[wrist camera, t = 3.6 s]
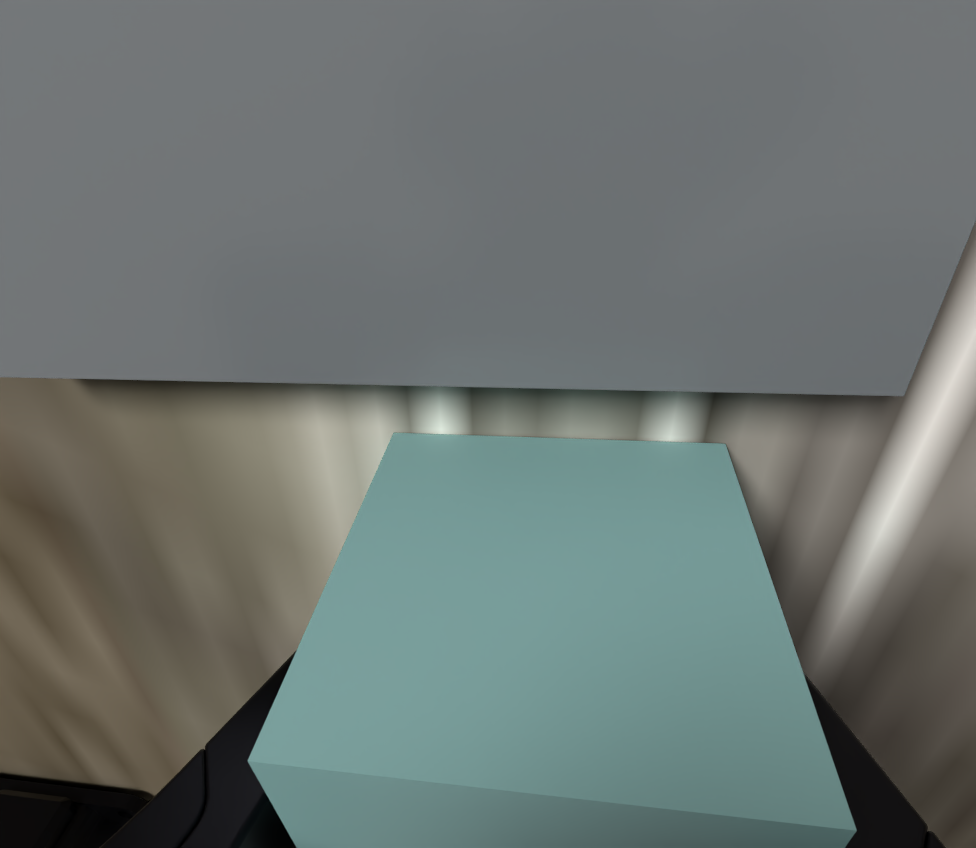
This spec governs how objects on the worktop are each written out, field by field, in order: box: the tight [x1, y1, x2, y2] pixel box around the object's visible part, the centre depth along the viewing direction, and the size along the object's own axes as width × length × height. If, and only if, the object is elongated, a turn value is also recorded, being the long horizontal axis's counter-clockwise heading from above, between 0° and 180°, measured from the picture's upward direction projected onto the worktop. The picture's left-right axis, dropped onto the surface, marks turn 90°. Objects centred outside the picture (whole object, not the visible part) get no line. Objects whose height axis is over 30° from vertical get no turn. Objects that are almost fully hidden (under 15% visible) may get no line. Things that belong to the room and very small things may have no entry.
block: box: [248, 433, 857, 848], centre depth 8 cm, size 5×5×5 cm
